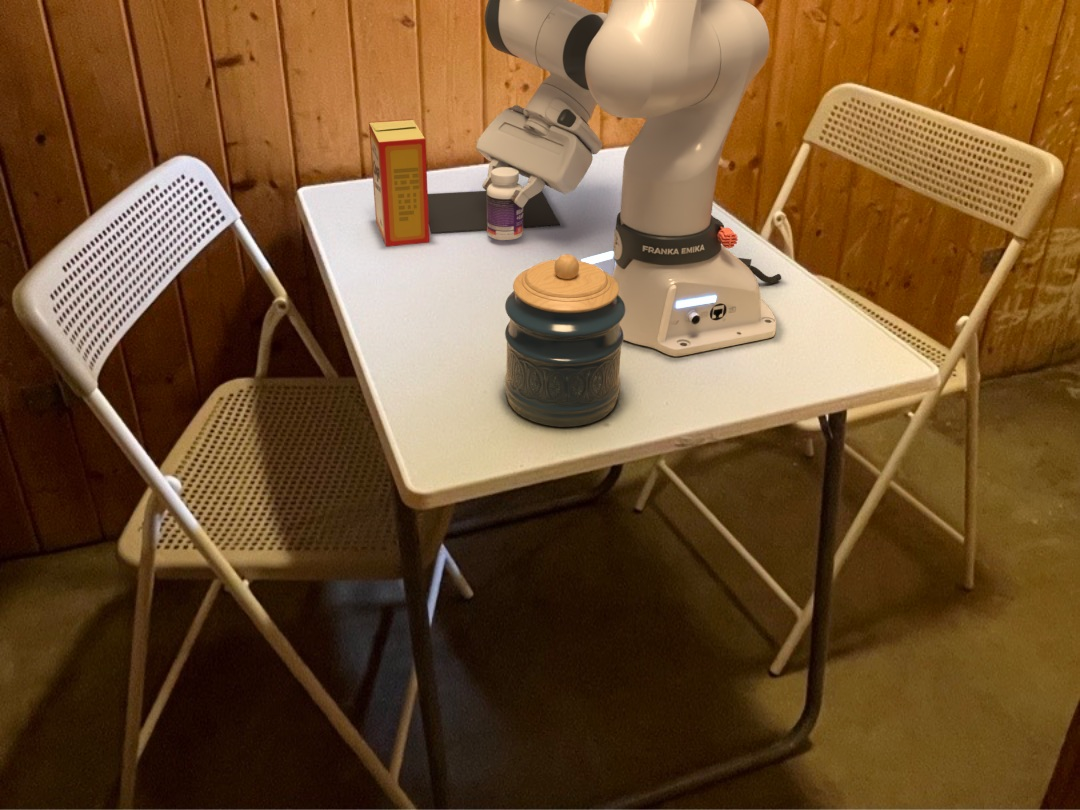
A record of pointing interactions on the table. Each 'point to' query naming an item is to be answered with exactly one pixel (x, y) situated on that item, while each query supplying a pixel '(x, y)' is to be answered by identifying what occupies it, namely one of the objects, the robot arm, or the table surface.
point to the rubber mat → (480, 212)
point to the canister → (564, 343)
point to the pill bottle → (504, 205)
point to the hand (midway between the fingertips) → (501, 197)
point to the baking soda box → (400, 181)
